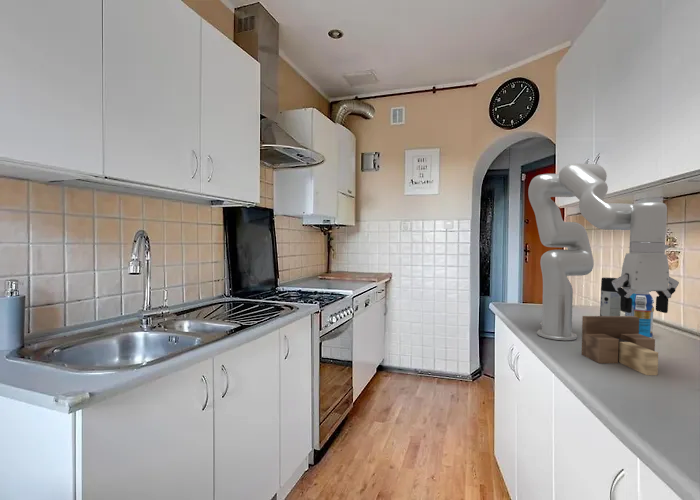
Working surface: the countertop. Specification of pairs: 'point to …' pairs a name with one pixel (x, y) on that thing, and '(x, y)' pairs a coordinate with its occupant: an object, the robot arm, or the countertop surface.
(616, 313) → the spray can
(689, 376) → the countertop surface
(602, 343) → the wooden two-prong bracket
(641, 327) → the beverage bottle
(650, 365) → the silver and tan rail
